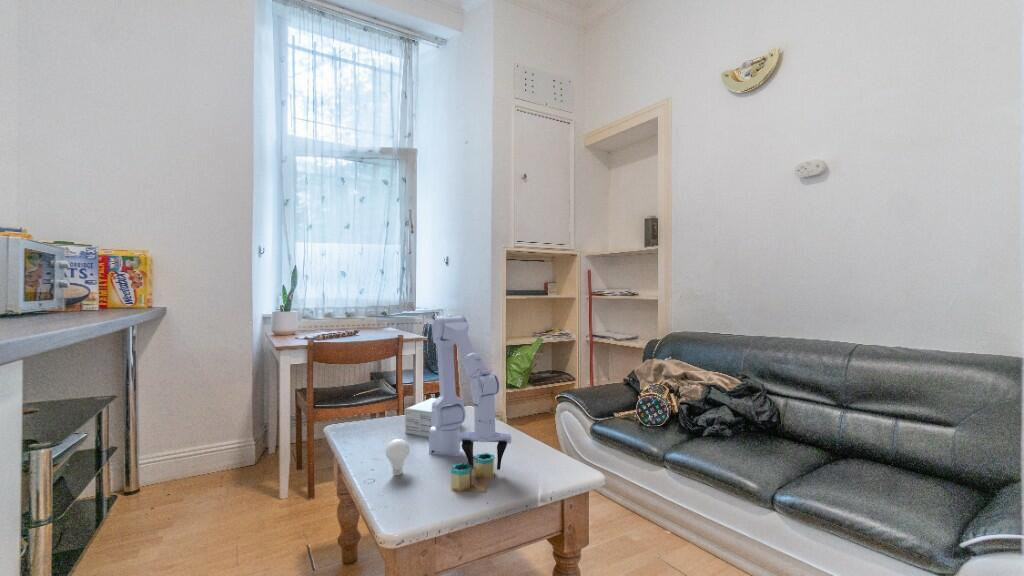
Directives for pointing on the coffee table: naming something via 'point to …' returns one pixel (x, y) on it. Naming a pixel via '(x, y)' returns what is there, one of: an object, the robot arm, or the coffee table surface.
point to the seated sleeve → (461, 476)
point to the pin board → (477, 484)
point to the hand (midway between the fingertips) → (485, 467)
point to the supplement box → (419, 418)
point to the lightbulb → (397, 454)
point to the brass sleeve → (484, 465)
